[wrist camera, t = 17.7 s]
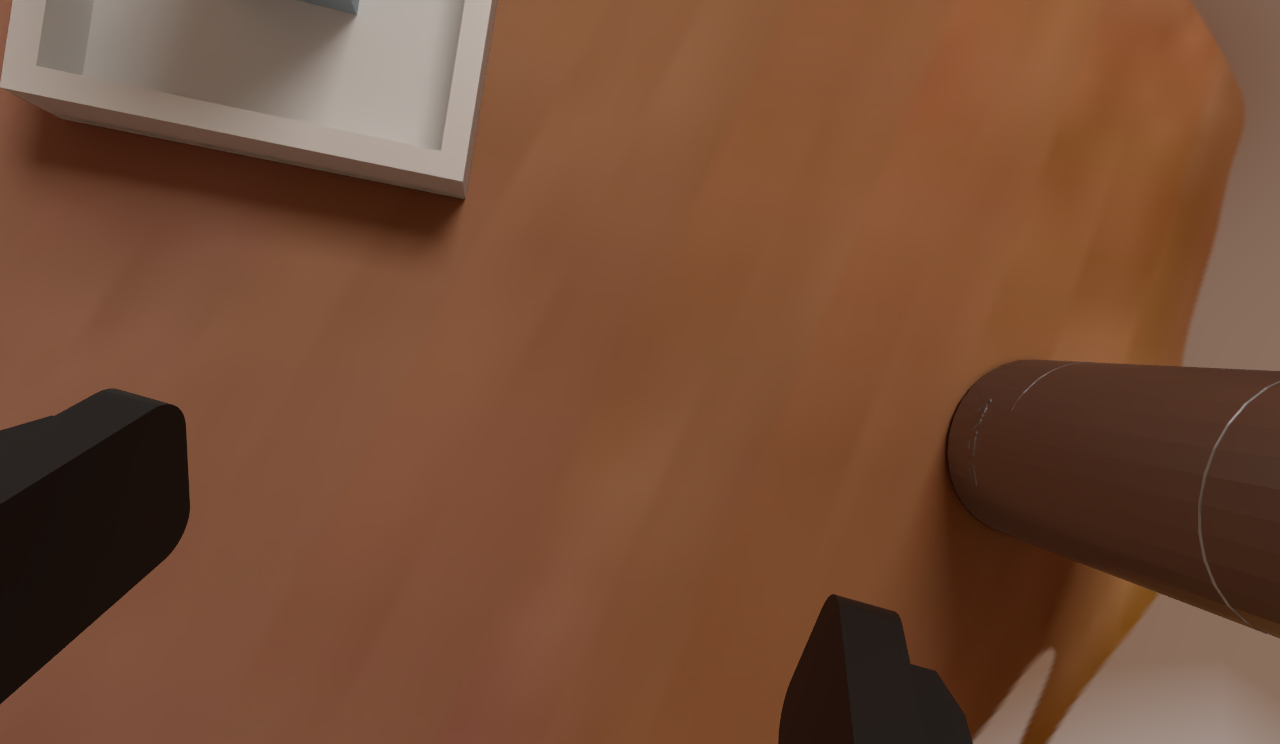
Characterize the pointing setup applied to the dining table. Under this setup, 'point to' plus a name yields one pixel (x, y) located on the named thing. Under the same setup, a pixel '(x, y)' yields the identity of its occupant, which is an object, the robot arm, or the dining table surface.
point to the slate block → (337, 5)
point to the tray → (269, 78)
